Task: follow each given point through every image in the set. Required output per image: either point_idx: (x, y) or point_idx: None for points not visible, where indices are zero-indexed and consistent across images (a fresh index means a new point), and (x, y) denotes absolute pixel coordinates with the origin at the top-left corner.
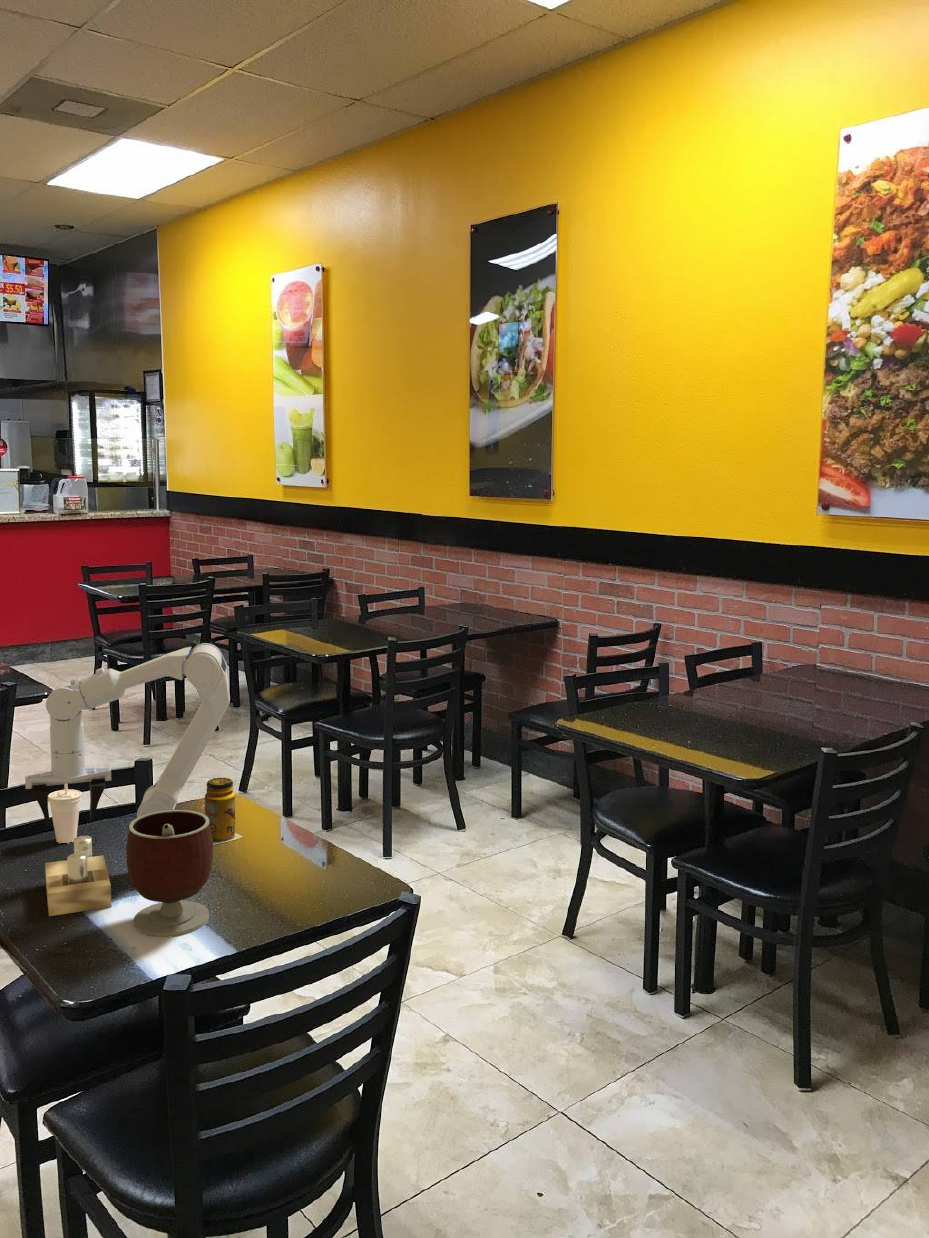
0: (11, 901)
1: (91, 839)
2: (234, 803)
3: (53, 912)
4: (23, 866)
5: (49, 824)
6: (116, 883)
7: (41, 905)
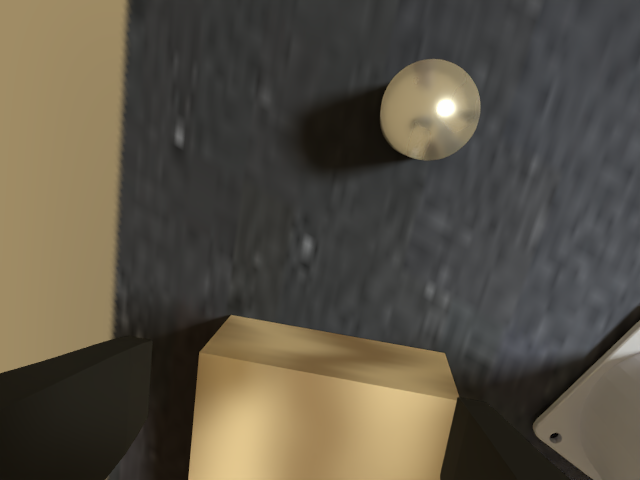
0: None
1: (473, 131)
2: None
3: None
4: (172, 86)
5: (141, 424)
6: None
7: None
